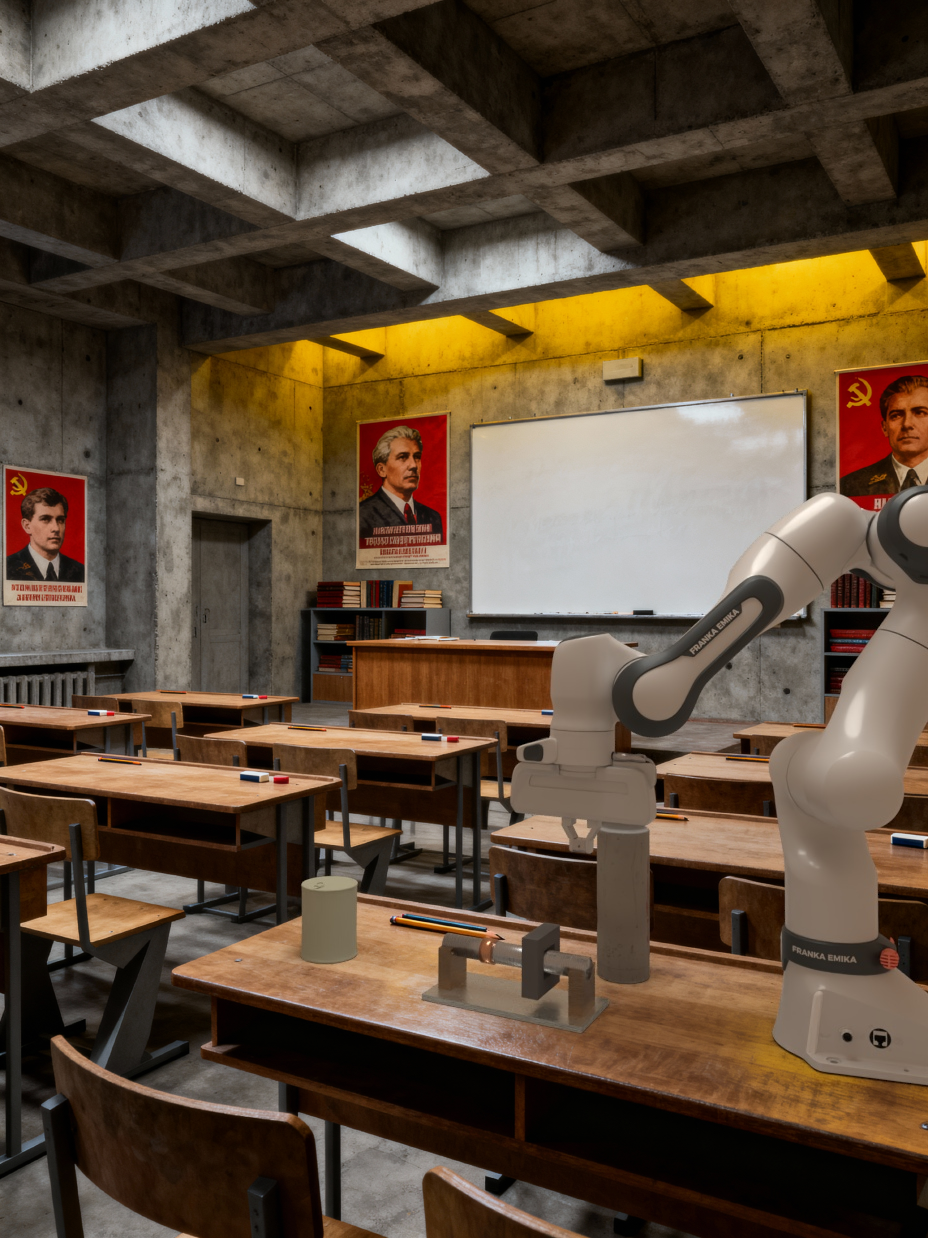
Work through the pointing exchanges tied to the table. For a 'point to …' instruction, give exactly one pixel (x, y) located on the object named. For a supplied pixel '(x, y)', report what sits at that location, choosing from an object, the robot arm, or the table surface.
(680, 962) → the table surface
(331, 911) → the can
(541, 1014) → the rail
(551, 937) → the collar
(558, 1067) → the table surface
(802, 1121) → the table surface
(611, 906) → the thermos bottle
